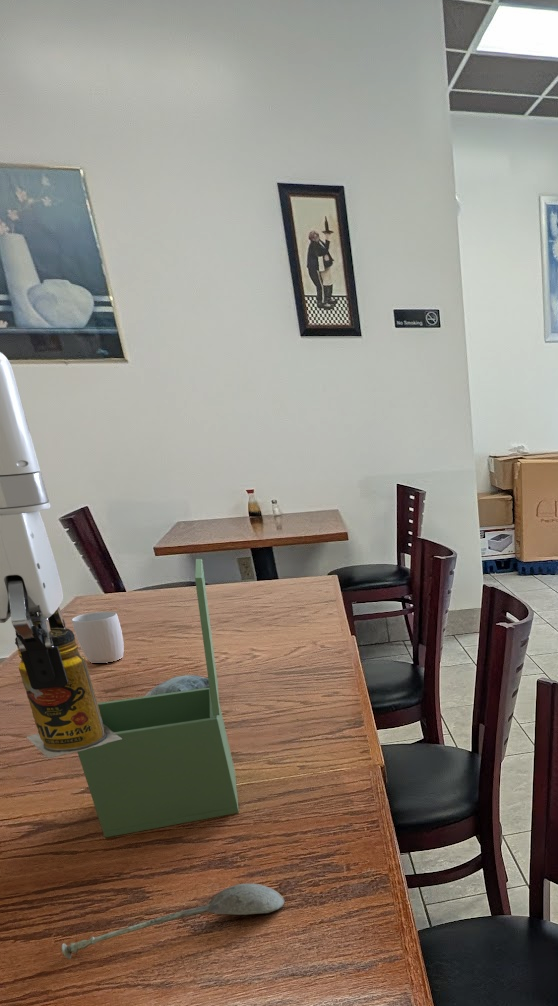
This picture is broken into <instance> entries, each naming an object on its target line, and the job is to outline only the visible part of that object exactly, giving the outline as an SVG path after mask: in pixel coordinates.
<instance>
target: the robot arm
mask: <svg viewBox="0 0 558 1006" xmlns="http://www.w3.org/2000/svg"><path fill="white" fill-rule="evenodd" d="M43 477H44V476H43V473H42V471H41V468H40V464H39V459H38V456H37V453H36V449H35V446H34V441H33V438H32V435H31V431H30V428H29V424H28V420H27V416H26V412H25V410H24V406H23V401H22V399H21V395H20V391H19V388H18V383H17V380H16V376H15V373H14V370H13V367H12V364H11V362H10V360H9V359H8V357H7V356H6V355H5V354H4V353H3V352H1V351H0V624H5V623H7V622H8V620H9V619H10V621H11V625H12V626H13V629H14V631H15V637H17V641H18V645H19V649H20V653H21V656H22V659H23V662H24V665H25V668H26V672H27V675H28V678H29V681H30V684H31V687H32V688H33V689H35V690H38V689H46V688H55V687H64V686H66V685H67V684H68V679H67V676H66V672H65V669H64V665H63V662H62V659H61V655H60V652H59V648H58V646H54V645H53V640H52V635H51V630H50V628H67V627H66V621H65V619H64V616H63V613H62V611H61V608H60V605H62V603H63V600H64V590H63V586H62V582H61V578H60V577H61V576H60V574H59V569H58V566H57V562H56V559H55V555H54V552H53V549H52V546H51V542H50V539H49V536H48V533H47V529H46V525H45V523H44V521H43V518H42V515H41V514H42V513H41V511H44V510H50V509H51V508H52V507H51V503H50V499H49V495H48V492H47V489H46V485H45V480H44V478H43ZM41 629H42V633H41ZM19 649H18V650H19Z"/></svg>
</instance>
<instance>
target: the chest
mask: <svg viewBox="0 0 558 1006" xmlns="http://www.w3.org/2000/svg"><path fill="white" fill-rule="evenodd" d="M97 703H98V707H99V711H100V714H101V718H102V722H103V724H104V725H105V726H107V727H108V728H109V729H110V730H111V731H112V732H114V733H115V734H116V735H118V736H119V737H121V738H122V739H121V740H116V741H113V742H108V743H106V744H103V745H100V746H97V747H93V748H89V749H86V750H82V751H78V752H77V755H78V758H79V761H80V766H81V767H82V770H83V774H84V777H85V780H86V783H87V787H88V789H89V794H90V796H91V799H92V802H93V805H94V808H95V811H96V815H97V818H98V821H99V824H100V827H101V830H102V834H103V837H104V838H105V839H107V838H111V837H117V836H123V835H127V834H133V833H137V832H144V831H150V830H154V829H160V828H164V827H165V828H166V827H170V826H171V827H172V826H175V825H181V824H186V823H192V822H197V821H202V820H208V819H213V818H218V817H224V816H229V815H234V814H239V813H240V811H239V810H240V809H239V799H238V789H237V788H238V787H237V778H236V769H235V765H234V761H233V757H232V756H233V755H232V752H231V748H230V744H229V739H228V734H227V730H226V727H225V720H224V716H223V713H222V710H221V703H219V711H220V715H216V716H213V711H212V703H211V695H210V688H201V689H194V690H187V691H180V692H173V693H165V694H158V695H151V696H145V695H144V696H138V697H137V696H136V697H130V698H124V699H117V700H110V701H109V700H108V701H102V702H97Z"/></svg>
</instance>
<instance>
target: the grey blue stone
mask: <svg viewBox="0 0 558 1006" xmlns="http://www.w3.org/2000/svg"><path fill="white" fill-rule="evenodd" d="M201 688H209V680H208V677H203V676H200V675H197V674H196V675H195V674H194V675H193V674H185V675H179V676H174V677H172V678H170V679H167V680H165V681H163V682H160V683H159V684H157V685H156V686H155V687H153V688H152V689H151V690H149V691H148V692H147V693H146V694H145V695H144V696H151V695H158V694H165V693H173V692H180V691H187V690H194V689H201Z"/></svg>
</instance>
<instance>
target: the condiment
mask: <svg viewBox="0 0 558 1006" xmlns="http://www.w3.org/2000/svg"><path fill="white" fill-rule="evenodd" d="M50 630H51V635H52V640H53V645H54V646H58V648H59V652H60V655H61V659H62V662H63V665H64V669H65V672H66V676H67V679H68V684H67V685H66V686H64V687H55V688H46V689H38V690H35V689H33V688H32V687H31V684H30V681H29V678H28V675H27V672H26V668H25V665H24V662H23V659H22V656H21V653H20V649H19V645H18V641H17V636H15V638H14V640H15V642H14V644H15V645H16V647H17V654H18V656H19V657H18V658H20V662H19V664H18V671H19V675H20V677H21V681H22V684H23V686H24V689H25V692H26V697H27V699H28V701H29V702H28V703H29V707H30V709H31V713H32V717H33V719H34V724H35V726H36V729H37V732H38V733H34V734H30V735H27V736H25V737H26V739H28V741H30V742H31V743H32V745H34V746H35V747H36V749H37V750H38V751H39V752H40V753H41V754H42V755H43V756H44V757H46V758H47V759H52V758H55V757H60V756H64V755H69V754H73V753H78V751H82V750H86V749H89V748H93V747H97V746H100V745H103V744H106V743H108V742H113V741H116V740H121V739H122V738H121V737H119V736H118V735H116V734H115V733H114V732H112V731H111V730H110V729H109V728H108V727H107V726H105V725H104V724H103V722H102V718H101V714H100V711H99V707H98V703H99V702H98V700H97V696H96V693H95V689H94V686H93V683H92V678H91V675H90V671H89V668H88V664H87V659H86V658H85V655H83V654H82V653H80V652H79V646H78V643H77V642H76V635H75V632H74V631H73V630H71V629H70V628H67V627H66V628H50ZM41 633H42V629H41Z"/></svg>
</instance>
